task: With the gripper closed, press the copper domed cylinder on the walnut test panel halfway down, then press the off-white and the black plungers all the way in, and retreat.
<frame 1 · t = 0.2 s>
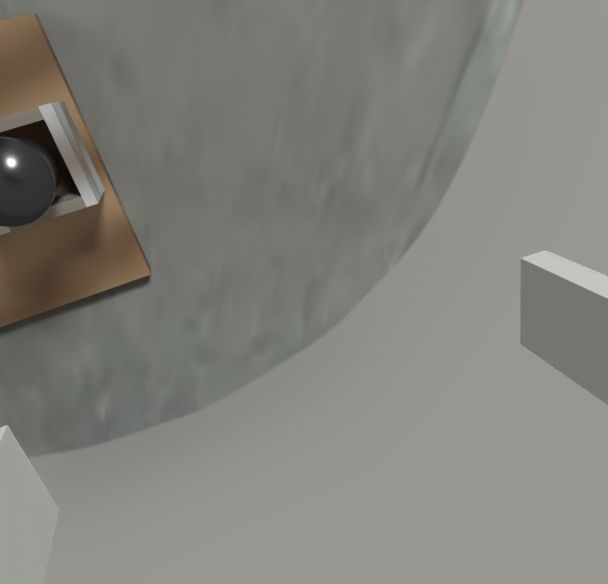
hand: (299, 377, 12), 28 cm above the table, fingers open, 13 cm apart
black plunger: (16, 176, 26), point 8 cm above the table, slide at 0.0 cm
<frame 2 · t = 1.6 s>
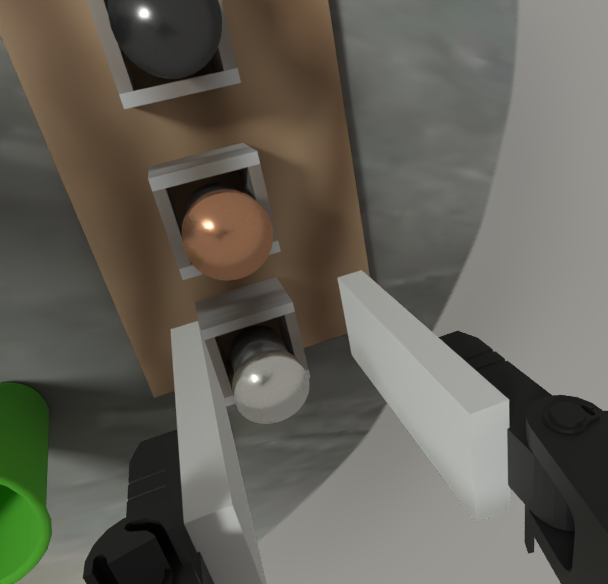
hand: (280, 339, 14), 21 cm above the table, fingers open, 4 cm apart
copper domed cylinder: (222, 225, 26), point 8 cm above the table, slide at 0.0 cm
offwhite plunger: (263, 369, 30), point 7 cm above the table, slide at 0.0 cm
black plunger: (165, 25, 21), point 8 cm above the table, slide at 0.0 cm
panel: (222, 193, 32), on the table
cup: (10, 409, 34), on the table
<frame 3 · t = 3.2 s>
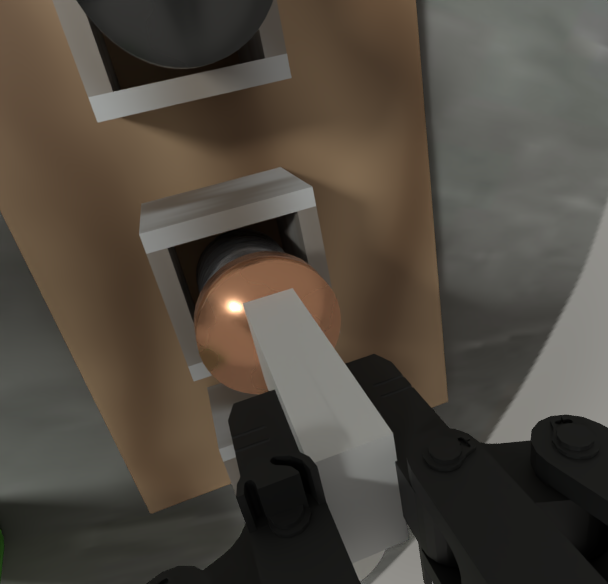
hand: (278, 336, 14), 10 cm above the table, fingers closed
copper domed cylinder: (255, 299, 17), point 7 cm above the table, slide at 0.7 cm, touching gripper
offwhite plunger: (313, 503, 20), point 8 cm above the table, slide at 0.0 cm
panel: (248, 236, 23), on the table
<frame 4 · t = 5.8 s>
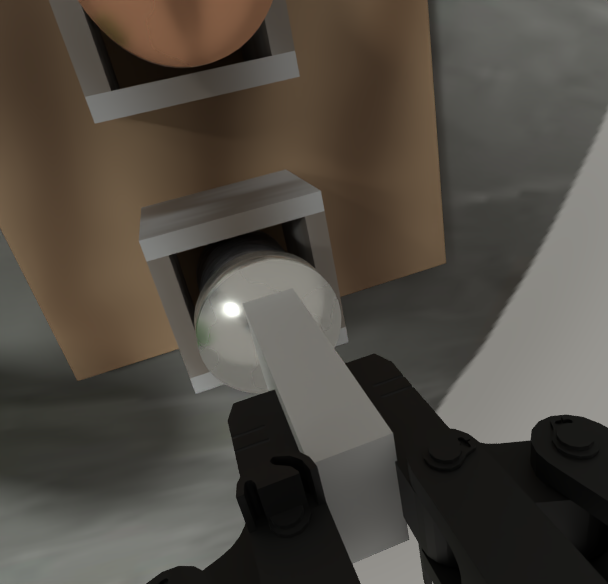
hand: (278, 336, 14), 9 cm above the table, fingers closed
offwhite plunger: (255, 298, 17), point 6 cm above the table, slide at 1.6 cm, touching gripper
panel: (189, 3, 18), on the table
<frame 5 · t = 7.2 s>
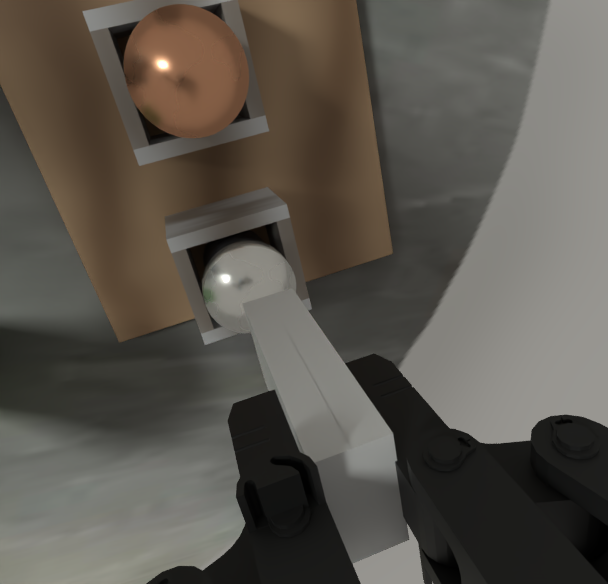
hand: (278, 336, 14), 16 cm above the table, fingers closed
copper domed cylinder: (184, 76, 19), point 7 cm above the table, slide at 0.9 cm
offwhite plunger: (242, 273, 25), point 5 cm above the table, slide at 2.2 cm
panel: (196, 74, 25), on the table
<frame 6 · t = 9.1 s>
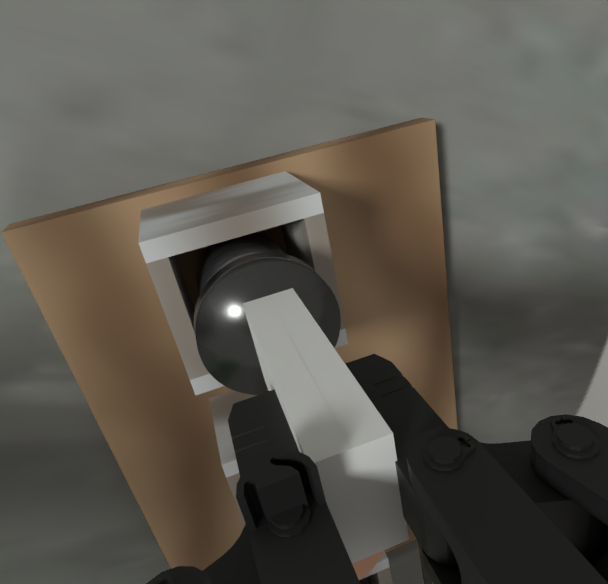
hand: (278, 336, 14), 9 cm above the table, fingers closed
copper domed cylinder: (312, 503, 20), point 7 cm above the table, slide at 0.9 cm
black plunger: (255, 299, 17), point 6 cm above the table, slide at 1.6 cm, touching gripper
panel: (293, 404, 26), on the table
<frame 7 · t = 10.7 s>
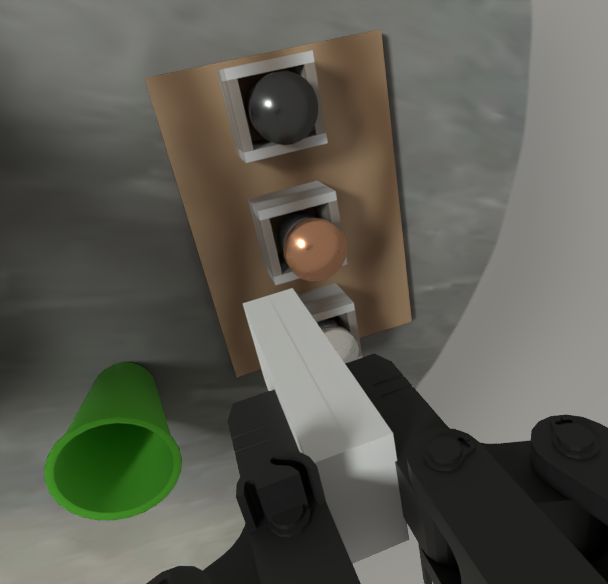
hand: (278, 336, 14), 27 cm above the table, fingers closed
copper domed cylinder: (307, 242, 36), point 7 cm above the table, slide at 0.9 cm
offwhite plunger: (323, 340, 41), point 5 cm above the table, slide at 2.2 cm
black plunger: (276, 107, 33), point 5 cm above the table, slide at 2.3 cm
panel: (297, 217, 42), on the table
cup: (125, 384, 44), on the table
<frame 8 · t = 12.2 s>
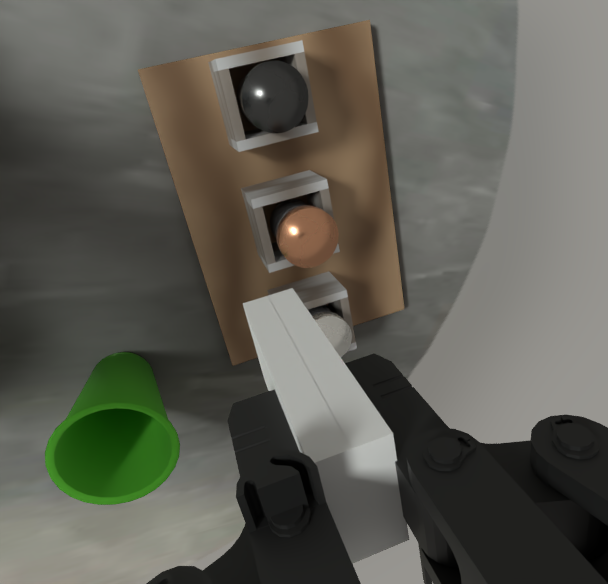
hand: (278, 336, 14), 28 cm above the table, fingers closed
copper domed cylinder: (300, 229, 36), point 7 cm above the table, slide at 0.9 cm
offwhite plunger: (317, 327, 42), point 5 cm above the table, slide at 2.2 cm
black plunger: (268, 97, 33), point 5 cm above the table, slide at 2.3 cm
panel: (290, 207, 42), on the table
cup: (123, 374, 44), on the table
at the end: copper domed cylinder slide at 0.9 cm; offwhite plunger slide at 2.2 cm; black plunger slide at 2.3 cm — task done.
